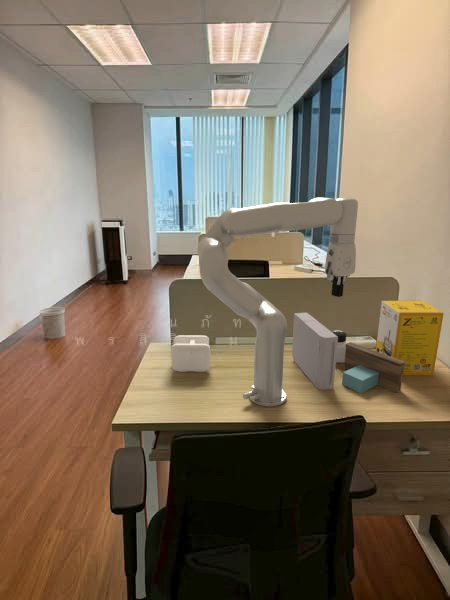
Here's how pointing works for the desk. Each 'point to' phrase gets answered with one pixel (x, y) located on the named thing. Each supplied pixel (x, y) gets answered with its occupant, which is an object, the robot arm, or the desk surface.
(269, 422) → the desk surface
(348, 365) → the walnut board
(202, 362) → the cable organizer
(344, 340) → the medicine bottle
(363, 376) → the teal block
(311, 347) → the game console
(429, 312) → the packaging box
